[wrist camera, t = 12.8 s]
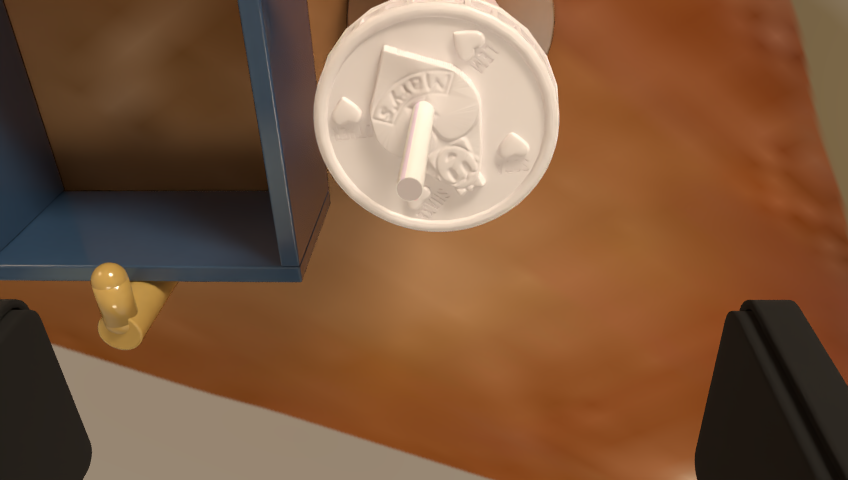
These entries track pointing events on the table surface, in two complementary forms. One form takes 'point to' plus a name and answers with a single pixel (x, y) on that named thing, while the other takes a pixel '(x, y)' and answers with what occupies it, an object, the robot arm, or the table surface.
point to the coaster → (524, 3)
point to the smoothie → (437, 113)
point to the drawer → (168, 193)
